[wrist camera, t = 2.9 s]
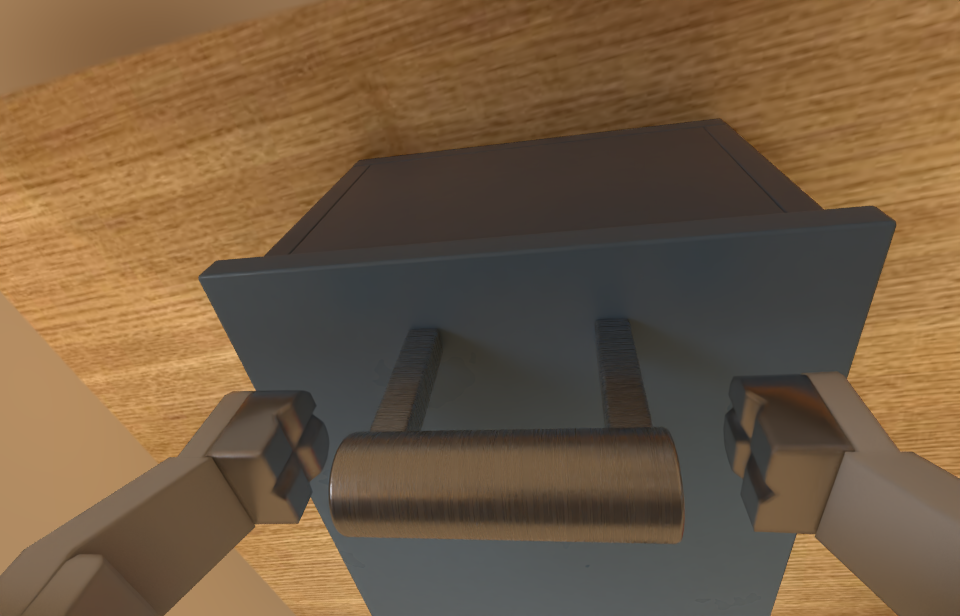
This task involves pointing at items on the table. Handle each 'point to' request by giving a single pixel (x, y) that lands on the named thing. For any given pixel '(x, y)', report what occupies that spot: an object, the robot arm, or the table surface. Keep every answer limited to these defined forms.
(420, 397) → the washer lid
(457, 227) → the grey open box
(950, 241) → the table surface
